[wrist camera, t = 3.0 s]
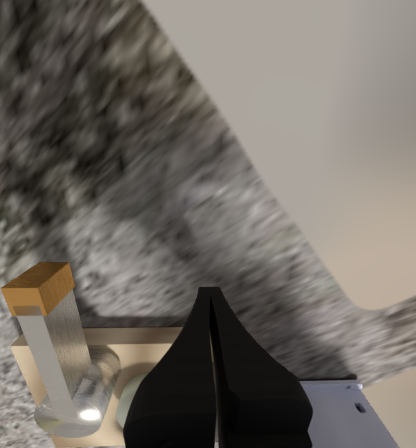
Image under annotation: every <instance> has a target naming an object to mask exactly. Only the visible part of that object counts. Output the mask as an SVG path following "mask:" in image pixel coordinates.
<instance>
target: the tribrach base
mask: <svg viewBox="0 0 416 448" xmlns="http://www.w3.org/2000/svg"><path fill="white" fill-rule="evenodd" d="M243 327H244V326H243ZM182 328H183V327H150V328H83V332H84V336H85V339H86V343H87V347H88V349H99V350H103V351H106V352H108V353H110V354H112V355H113V356H115V357H116V358H117V359H118V361H119V362H120V365H121V372H120V375H119V378H118V381H117V383H116V386H115V389H114V391H113V394H112V397H111V400H110V402H109V405H108V408H107V411H106V413H105V416H104V419H103V421H102V424H101V427H100V428H99V430H98V431H96V432H95V433H93V434H91V435H89V436H86V437H81V438H65V437H59V436H56V435H53V434H50V433H49V434H50V436H51V438H52V441H53V443H54V445H55V447H56V448H67V447H92V446H118V445H125V442H124V437H123V428H124V424H125V420H126V417H127V413H128V410H129V407H130V405H131V402H132V399H133V397H134V395H135V393H136V390H137V388H138V386H139V384H140V382H141V381H142V380H143V379H144V378H145V376H146V375H147V374H148V373H149V372H150V371H151V370H152V369H153V368H154V367H155V366H156V364H157V363H158V362H159V361H160V360H161V358H162V357H163V356H164V355H165V353H166V352H167V351H168V350H169V348H170V347H171V345H172V344H173V343H174V341H175V340H176V338H177V337H178V335H179V333H180V332H181V330H182ZM210 342H211V337H210ZM10 347H11V349H12V351H13V353H14V356H15V358H16V360H17V362H18V365H19V367H20V369H21V371H22V374H23V376H24V378H25V380H26V383H27V385H28V387H29V389H30V391H31V394H32V396H33V398H34V400H35V403H36V405H37V407H38V406H39V405H40V403H41V402H42V400H43V399H44V397H45V396H46V394H47V390H46V388H45V385H44V383H43V380H42V378H41V375H40V373H39V370H38V368H37V365H36V363H35V360H34V358H33V356H32V353H31V351H30V348H29V346H28V343H27V341H26V338H25V336H24V333H23V334H22V335H21V336H20V337H19V338H18V339H17V340H16V341H15V342H14V343H13V344H12V345H11V346H10ZM211 354H212V365H213V374H214V383H215V392H216V380H215V367H214V359H213V352H212V344H211ZM216 407H217V400H216ZM215 442H218V420H217V416H216V430H215Z"/></svg>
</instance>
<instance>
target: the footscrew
mask: <svg viewBox="0 0 416 448" xmlns="http://www.w3.org/2000/svg"><path fill="white" fill-rule="evenodd" d="M74 287H75V284H74V280H73V276H72V272H71V268H70V264H69V262H39V263H38V264H36V265H35V266H33V267H32V268H30V269H29V270H27V271H26V272H24V273H23V274H21V275H20V276H18V277H17V278H15V279H14V280H12V281H11V282H9V283H8V284H6V285H5V286H3V287H2V288H1V290H2V293H3V295H4V297H5V300H6V302H7V305H8V307H9V310H10V312H11V314H12V316H17V318H18V321H19V323H20V326H21V328H22V331H23V333H24V336H25V338H26V341H27V343H28V346H29V348H30V351H31V353H32V356H33V358H34V360H35V363H36V365H37V368H38V370H39V373H40V375H41V378H42V380H43V383H44V385H45V388H46V390H47V394H46V396H45V397H44V399H43V400H42V402H41V403H40V405H39V406H38V408H37V410H36V411H35V414H34V419H35V421H36V423H37V424H38V426H39V427H40V428H42V429H43V430H44V431H46V432H48V433H50V434H53V435H56V436H59V437H65V438H81V437H86V436H89V435H91V434H93V433H95V432H96V431H98V430H99V428H100V427H101V424H102V421H103V419H104V416H105V413H106V411H107V408H108V405H109V402H110V400H111V397H112V394H113V391H114V389H115V386H116V383H117V381H118V378H119V375H120V372H121V365H120V362H119V361H118V359H117V358H116V357H115V356H113V355H112V354H110V353H108V352H106V351H103V350H99V349H88V347H87V343H86V339H85V336H84V332H83V328H82V324H81V320H80V316H79V313H78V309H77V305H76V301H75V297H74V293H73V288H74Z"/></svg>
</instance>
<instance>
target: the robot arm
mask: <svg viewBox="0 0 416 448" xmlns="http://www.w3.org/2000/svg"><path fill="white" fill-rule="evenodd" d="M210 337H211V342H210ZM211 344H212V352H213V359H214V367H215V380H216V392H215V383H214V374H213V365H212V354H211ZM362 387H363V385H362V383H361V382H360V381H359V380H326V381H299V380H298V378H297V377H296V376H295V375H293V374H292V373H291V372H289V371H288V370H287V369H286V368H284V367H283V366H282V365H280V364H279V363H278V362H277V361H276V360H275V359H274V358H272V357H271V356H270V355H269V354H268V353H267V352H266V351H265V350H264V349H263V348H262V347H261V346H260V345H259V344H258V343H257V342H256V341H255V340H254V339H253V337H252V336H251V335H250V334H249V333H248V332H247V330H246V329H245V328H244V327H243V325H242V324H241V323H240V321H239V320H238V318H237V317H236V316H235V314H234V313H233V311H232V309H231V308H230V306H229V304H228V303H227V301H226V299H225V297H224V295H223V293H222V291H221V288H220V287H200V288H199V289H198V295H197V298H196V301H195V304H194V306H193V309H192V311H191V313H190V315H189V317H188V319H187V321H186V323H185V325H184V327H183V328H182V330H181V332H180V333H179V335H178V337H177V338H176V340H175V341H174V343H173V344H172V345H171V347H170V348H169V350H168V351H167V352H166V353H165V355H164V356H163V357H162V358H161V360H160V361H159V362H158V363H157V364H156V366H155V367H154V368H153V369H152V370H151V371H150V372H149V373H148V374H147V375H146V376H145V378H144V379H143V380H142V381H141V382H140V384H139V386H138V388H137V390H136V393H135V395H134V397H133V399H132V402H131V405H130V407H129V410H128V413H127V417H126V420H125V424H124V428H123V437H124V442H125V446H126V448H214V445H215V430H216V416H217V420H218V443H219V448H400V447H399V446H398V445H397V443H396V442H395V440H394V439H393V437H392V436H391V434H390V433H389V431H388V430H387V428H386V427H385V425H384V424H383V422H382V421H381V420H380V418H379V417H378V415H377V414H376V412H375V411H374V409H373V408H372V406H371V405H370V403H369V402H368V400H367V399H366V397H365V396H364V394H363V393H362V392H361V389H362ZM216 400H217V407H216Z"/></svg>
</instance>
